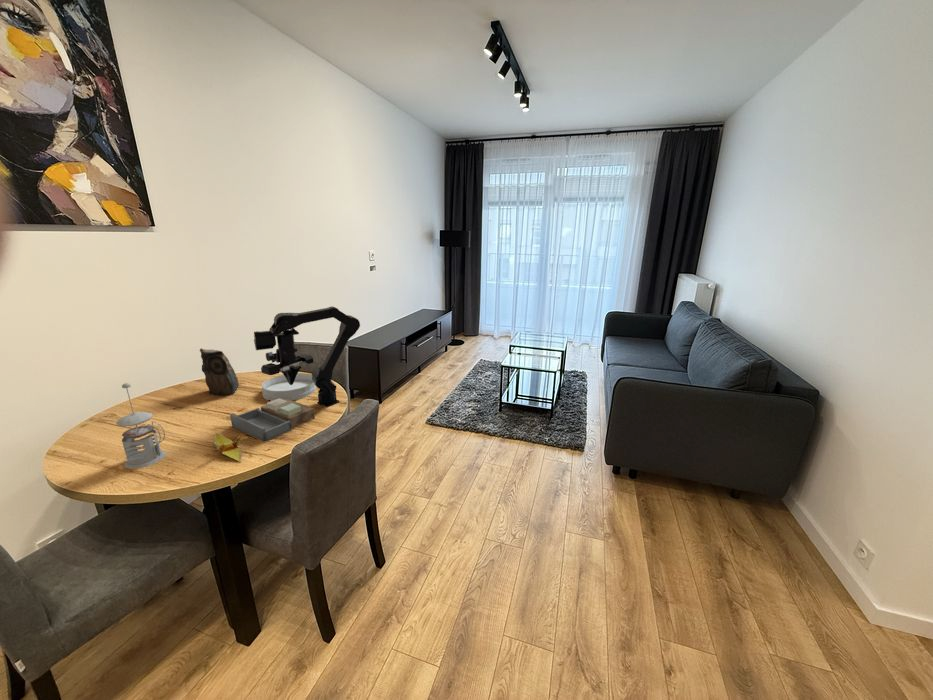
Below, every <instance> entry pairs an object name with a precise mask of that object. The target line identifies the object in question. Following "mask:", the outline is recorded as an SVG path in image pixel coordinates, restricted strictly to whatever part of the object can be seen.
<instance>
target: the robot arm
mask: <svg viewBox="0 0 933 700" xmlns="http://www.w3.org/2000/svg"><path fill="white" fill-rule="evenodd" d="M332 318H334V319H335V320H337V321H339V322H340V325H339V327H338V328H339V330H338V335H337V336H336V339H335V341H334V342H333V343H332V344H333V345H332V346H331V348H330V350H329V352H328V354H327V355H326V358H325V359H324V361H323V363H322V364H321V365H320V366H318V365H317V366H315V368H314V370H313V372H312V373H311V374H310V375H312V381H313V383H314V384H315V385H316V387H317V389H319V390H318V391H317V392H318V394H317V398H318V399H317V400H318V401H317V402H316V403H317V404H318V405H320V406H323V407H325V408H326V407H327V408H328V407H329V406H333V405H335V404H337V403H340V400H339V399H337V391H336V390H337V386H336V384H335V383H334V382H333V381H332V380H333V379H332V378H333V373H334V369H335V366H336V365H337V362H338V361H339V359H340V357H341V355H342V353H343V352H344V349H345V347H346V345H347V344H348V342H349V340H350V338H352V337H353V336H354V335H356V333H357V332H358V330H359V329H360V328H361V323H360V320H359V319H358V318H357V317H354V316H352V315H350V314H349V315H348V314H346V313H344V312H343V311H340V309H339V308H337V307H335V306H329V307H325V308H319V309H315V310H308V311H303V312H279V313H277V314H276V315H275V316H274V319H273V323H272V325H271V326H270V328H269V329H268V330H265V331H264V330H262V331H257V330H256V331H254V332H253V343H254V344H253V345H254V348H255V351H263V350H270V349H271V350H272V349H274V348H275V347H276V346H277V348H276V350H275V353H273V352H272V351H269V352H266V353H265V360H266V361H267V362H270V361H271V362H270V363H266V364H263V365H261V368H260V369H261V370H260V371H261V374H266V375H268V376H274V375H276V374H279V373H280V372H281V373H282V375H284V376H285V378H286V379H287V381H288V383H289V384H290V385H293V383H294V380H295V378H296V376H297V373H299V371H300V370H301V369H302V368H303V367H302V366H301V365H300V364H301V363H305V364H307V365H310V364H313V363H314V362H315V361H314V360H315V358H314V356H312V355H310V354H306V353H304V354H300V355H296V352H298V348H296V343H295V337H294V336H295V335H299V334H300V332H299V331H298V330H296V329H295V328H297V327H298V326H300V325H301V326H302V325H304V324H308V323H312V322H317V321H322V320H329V319H332ZM276 363H277V364H276Z"/></svg>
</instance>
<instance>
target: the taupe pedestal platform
mask: <svg viewBox="0 0 933 700" xmlns="http://www.w3.org/2000/svg"><path fill="white" fill-rule="evenodd" d="M282 400H285V401H287V403H288V405H289V404H291V403H293V404H296V405H299V406H301V411H300V412H298V413H295V414H293V415H291V416H287V415H285V414H282V413H281V412H280V409H279V410H277V411H275V410H272V409H270V408H268V406H267V404H264V405H262V406H260V410H262V411H264V412H266V413H269V414H271V415H274V416H276V417H279V418H281V419H283V420H286V421H291V429H293V428H295V427H298V426H301V425H302V424H304V423H307V422H309V421H311V420H313V419H315V408H314V407H311V406H308V405H305V404H303V403H301V402H297V401H296V400H293V401H292V400H289V399H286V398H283V399H282Z"/></svg>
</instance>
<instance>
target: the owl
mask: <svg viewBox="0 0 933 700" xmlns="http://www.w3.org/2000/svg"><path fill="white" fill-rule="evenodd" d="M199 352H200V357H201V361H202V362H201V363H202V364H201V371H202V373H203V374H204V376H205V377H204V378H205V379H204V380H205V384H206V386H207V388H208V394H209V395H214V396H218V397H220V396H221V397H223V396H233V395H235V394H236V392H237V391H238V389H239V388H238V386H239V387H240V385H239V380H238V379H239V378H238V376H237V374H236V372H235V369H234V368H233V366H232V365H231V363H230V360H229V358H228V357H227V355H225V353H224V352H223V351H222V350H218V349H204V348H200V349H199ZM237 388H238V389H237ZM235 391H236V392H235ZM234 393H235V394H234Z"/></svg>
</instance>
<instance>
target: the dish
mask: <svg viewBox="0 0 933 700" xmlns="http://www.w3.org/2000/svg"><path fill="white" fill-rule="evenodd" d="M316 388H317V387H316V385H315V384H314V383H313V381H312V375H311V374H308V373H299V372H298V373H297V376H296V378H295V380H294V383H293V385H290V384H289V383H288V381H287V379H286V378H285V376H284V375H283V374H282V375H281V374H280V375H275V376H274V377H271V378H269V379H266V380H265V381H264V382H262V384H261V389H262V391H261V394H262V397H263V398H264V399H265V400H266V401H269V400H270V401H269V402H271V401H274V400H276V399H279V398H280V399H283V398H286V399H289V400H293V401H297V400H301V399H303V397H304V398H307V397H308V395H309V396H311V395H312V393H313V392H314V391H315V390H316ZM317 389H318V388H317ZM316 391H317V390H316ZM316 391H315V392H316ZM315 392H314V393H315ZM314 393H313V394H314ZM310 394H311V395H310ZM306 396H307V397H306ZM300 398H301V399H300Z"/></svg>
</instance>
